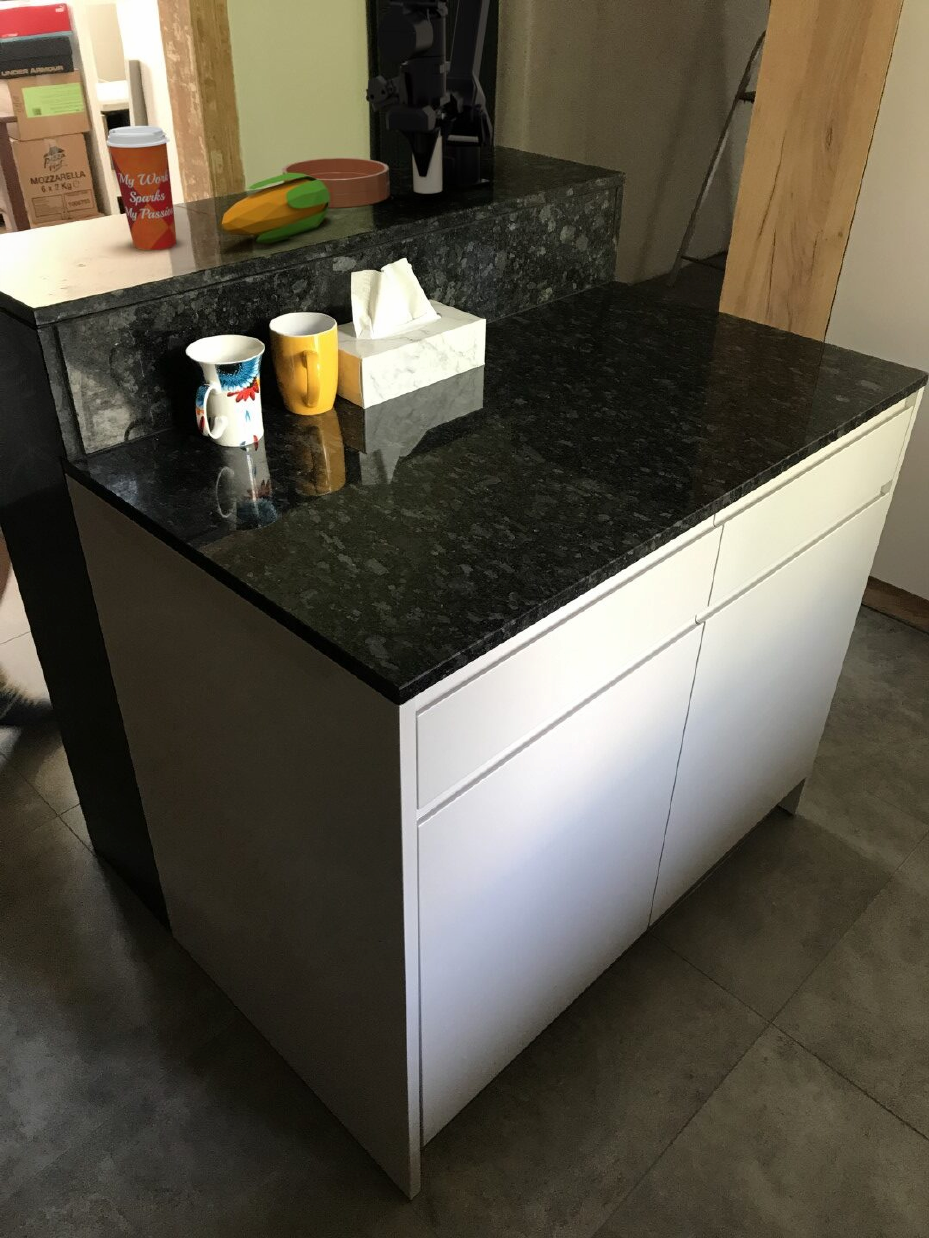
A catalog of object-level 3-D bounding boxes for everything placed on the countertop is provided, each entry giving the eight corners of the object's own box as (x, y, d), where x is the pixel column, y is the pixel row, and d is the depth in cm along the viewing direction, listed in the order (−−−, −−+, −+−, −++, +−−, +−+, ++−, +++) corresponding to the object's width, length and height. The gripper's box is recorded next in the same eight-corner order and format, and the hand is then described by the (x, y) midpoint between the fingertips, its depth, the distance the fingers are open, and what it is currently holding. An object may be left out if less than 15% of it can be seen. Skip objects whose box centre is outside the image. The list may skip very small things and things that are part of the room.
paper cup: (126, 254, 130) (103, 137, 122) (125, 239, 136) (103, 126, 128) (187, 249, 132) (169, 134, 124) (183, 235, 138) (166, 123, 130)
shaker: (427, 185, 154) (426, 125, 149) (448, 190, 151) (447, 128, 146) (407, 190, 151) (405, 129, 146) (428, 195, 149) (426, 132, 144)
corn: (340, 166, 138) (240, 193, 124) (347, 224, 142) (251, 256, 129) (300, 164, 142) (198, 190, 128) (308, 220, 146) (210, 252, 132)
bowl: (342, 183, 165) (340, 153, 162) (411, 199, 156) (410, 168, 153) (264, 200, 155) (260, 169, 152) (332, 217, 146) (329, 185, 143)
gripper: (393, 46, 150) (397, 158, 159) (347, 60, 135) (355, 183, 144) (464, 48, 147) (464, 162, 156) (425, 63, 133) (428, 188, 142)
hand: (427, 173), depth 150 cm, fingers closed on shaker, 4 cm apart
